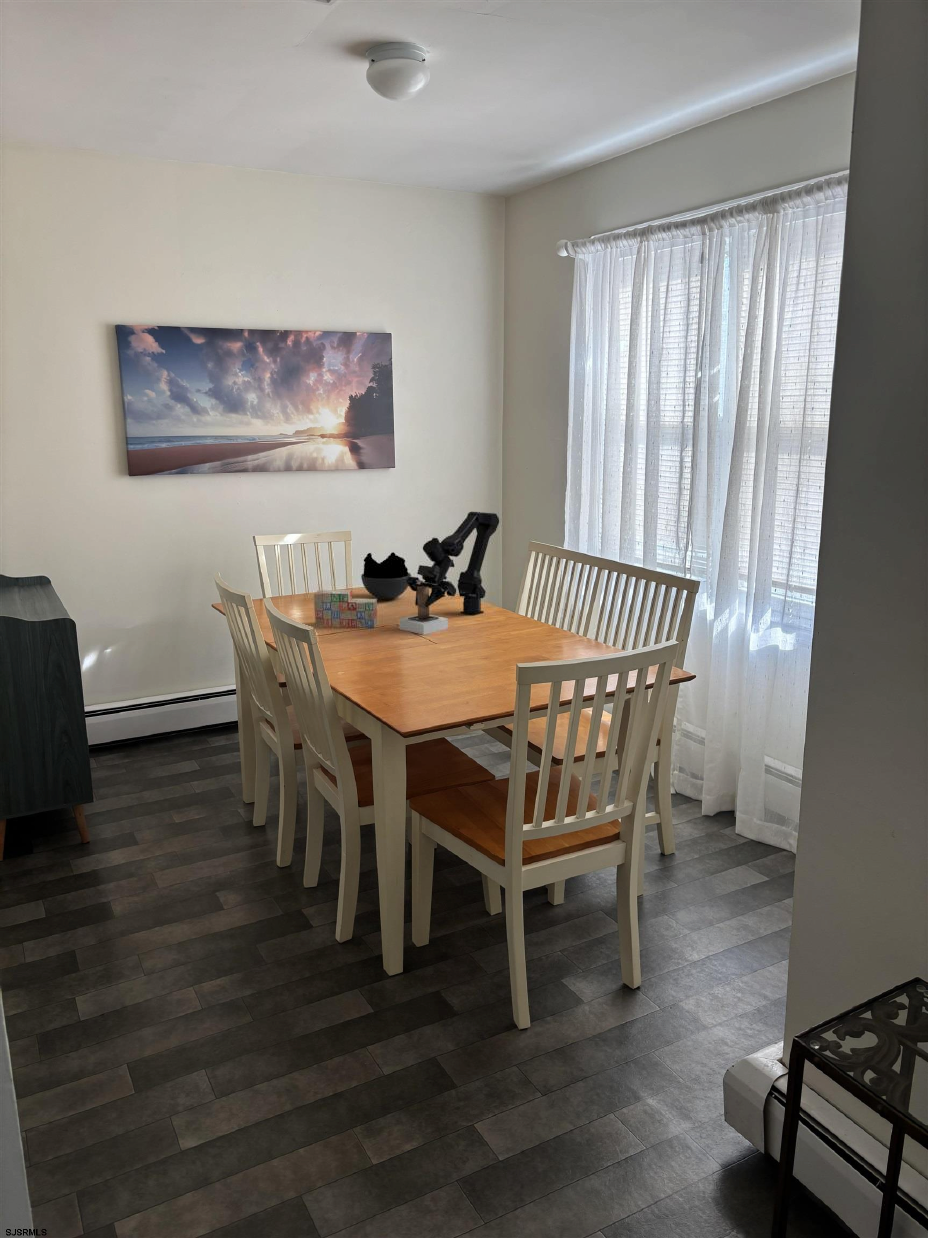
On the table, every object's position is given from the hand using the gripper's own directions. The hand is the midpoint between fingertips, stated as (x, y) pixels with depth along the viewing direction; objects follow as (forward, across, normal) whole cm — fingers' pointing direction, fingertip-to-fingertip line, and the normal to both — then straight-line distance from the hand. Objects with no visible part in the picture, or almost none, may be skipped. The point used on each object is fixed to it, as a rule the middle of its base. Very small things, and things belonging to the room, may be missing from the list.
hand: (421, 605), depth 312 cm
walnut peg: (+4, 0, +6) cm, 7 cm away
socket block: (+5, 0, +7) cm, 8 cm away
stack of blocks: (+13, -26, -1) cm, 29 cm away
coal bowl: (-18, -43, +30) cm, 55 cm away
